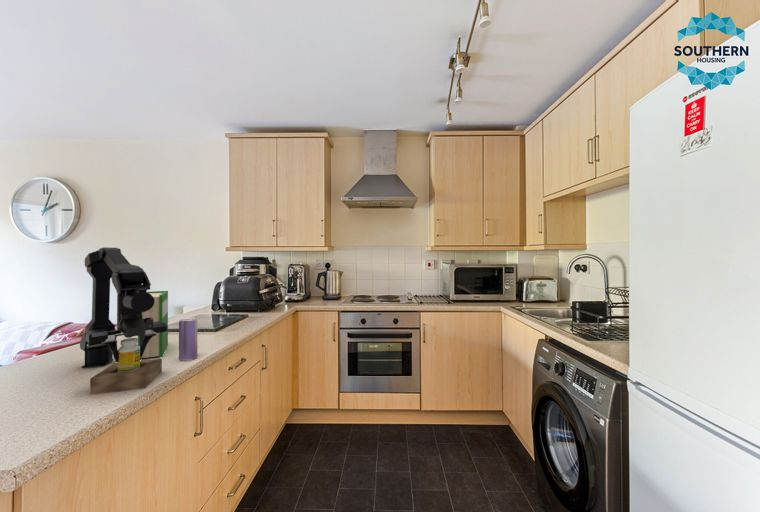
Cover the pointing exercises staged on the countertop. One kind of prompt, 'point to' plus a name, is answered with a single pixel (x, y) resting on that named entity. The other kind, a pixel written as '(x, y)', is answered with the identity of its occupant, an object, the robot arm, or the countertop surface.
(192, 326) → the beverage can
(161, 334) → the hardback book
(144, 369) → the well block
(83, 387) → the countertop surface
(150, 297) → the robot arm
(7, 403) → the countertop surface
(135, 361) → the supplement bottle
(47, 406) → the countertop surface
